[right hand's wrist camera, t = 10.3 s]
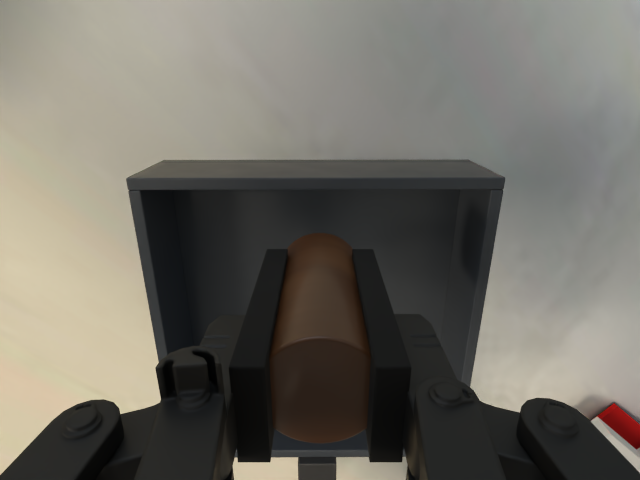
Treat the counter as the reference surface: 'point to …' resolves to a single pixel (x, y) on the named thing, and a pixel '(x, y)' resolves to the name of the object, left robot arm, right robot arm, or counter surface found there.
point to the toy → (620, 432)
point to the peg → (320, 345)
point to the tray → (307, 218)
